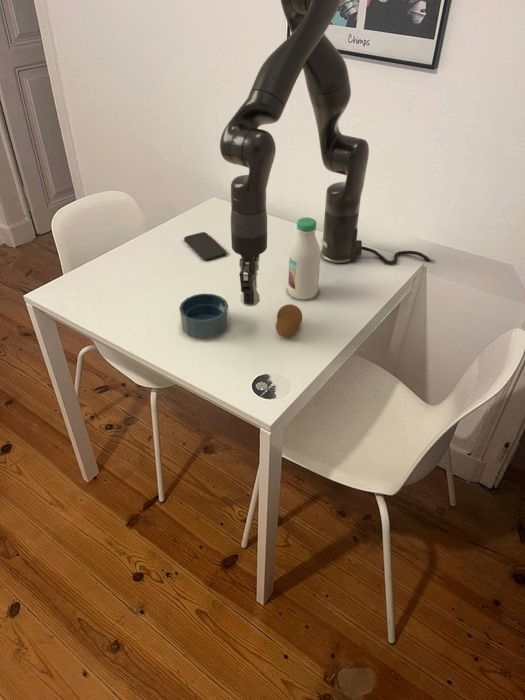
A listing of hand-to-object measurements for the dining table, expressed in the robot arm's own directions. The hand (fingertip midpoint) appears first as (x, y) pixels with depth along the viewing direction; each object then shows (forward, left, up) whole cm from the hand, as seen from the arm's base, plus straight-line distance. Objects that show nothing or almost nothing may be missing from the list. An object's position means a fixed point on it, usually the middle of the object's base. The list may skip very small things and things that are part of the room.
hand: (250, 296), depth 120 cm
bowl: (+11, 0, -9) cm, 14 cm away
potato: (-9, 0, -9) cm, 13 cm away
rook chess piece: (0, 0, -1) cm, 1 cm away
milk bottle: (-12, -17, -9) cm, 23 cm away
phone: (+18, -38, -9) cm, 43 cm away
